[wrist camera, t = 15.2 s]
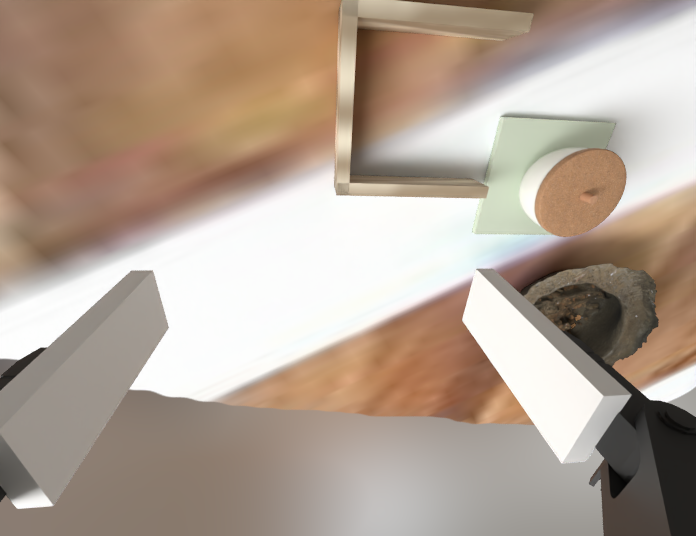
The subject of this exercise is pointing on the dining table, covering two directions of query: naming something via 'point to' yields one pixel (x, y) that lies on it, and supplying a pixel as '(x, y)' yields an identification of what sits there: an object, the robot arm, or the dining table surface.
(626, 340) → the stone bowl
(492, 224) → the pad
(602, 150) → the lidded jar
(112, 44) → the dining table surface
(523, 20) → the cubby
